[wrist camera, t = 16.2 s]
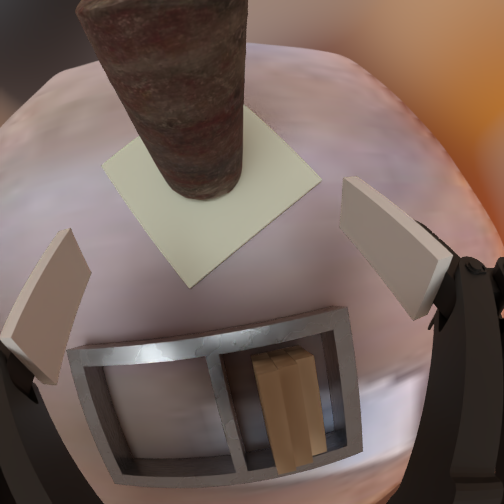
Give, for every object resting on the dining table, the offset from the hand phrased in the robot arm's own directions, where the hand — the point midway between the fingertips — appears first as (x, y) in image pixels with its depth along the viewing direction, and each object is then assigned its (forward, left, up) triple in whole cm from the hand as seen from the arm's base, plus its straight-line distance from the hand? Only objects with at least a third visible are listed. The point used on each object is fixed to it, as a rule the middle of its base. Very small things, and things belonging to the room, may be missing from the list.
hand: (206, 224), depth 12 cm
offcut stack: (+13, -4, -12) cm, 18 cm away
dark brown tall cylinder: (-8, +4, -12) cm, 15 cm away
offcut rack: (+10, -9, -12) cm, 18 cm away
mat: (-8, +4, -12) cm, 15 cm away
